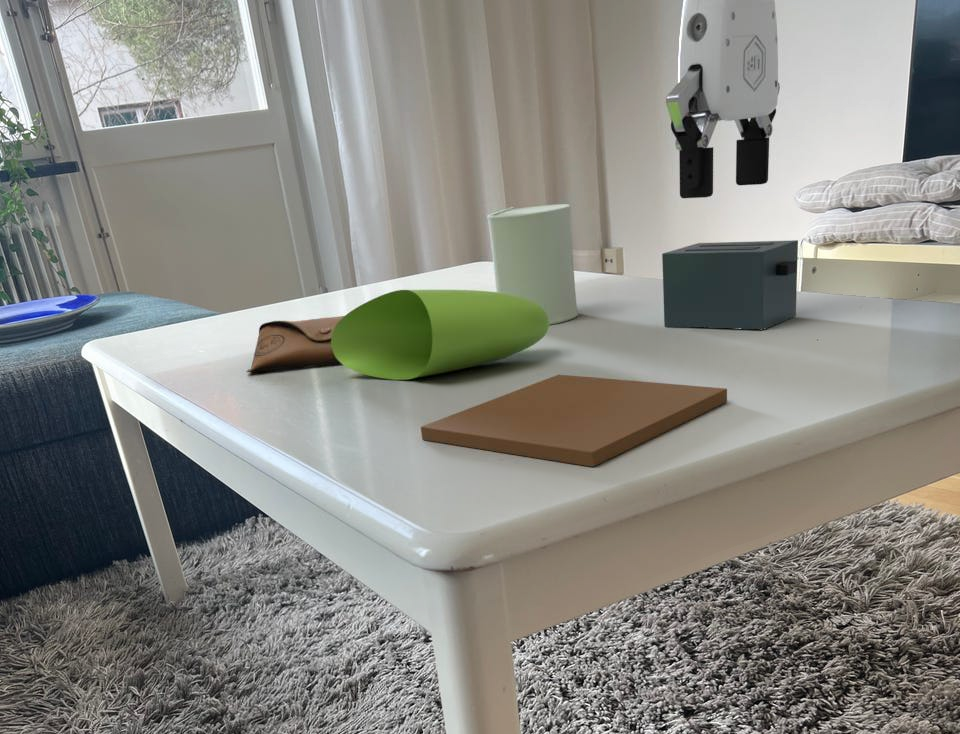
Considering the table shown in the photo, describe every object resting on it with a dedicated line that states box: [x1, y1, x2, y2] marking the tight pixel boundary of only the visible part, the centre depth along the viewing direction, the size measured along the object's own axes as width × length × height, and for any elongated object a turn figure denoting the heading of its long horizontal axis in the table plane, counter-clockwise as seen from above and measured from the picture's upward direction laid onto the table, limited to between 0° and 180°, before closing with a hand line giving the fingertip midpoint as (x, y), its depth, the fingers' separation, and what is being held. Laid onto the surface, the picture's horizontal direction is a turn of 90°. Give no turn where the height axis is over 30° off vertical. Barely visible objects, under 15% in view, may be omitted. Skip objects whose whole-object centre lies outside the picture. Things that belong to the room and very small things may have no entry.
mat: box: [420, 374, 728, 468], centre depth 72 cm, size 16×16×1 cm
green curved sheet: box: [331, 289, 550, 381], centre depth 91 cm, size 8×12×20 cm
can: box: [486, 203, 579, 326], centre depth 109 cm, size 9×9×12 cm
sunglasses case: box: [246, 315, 345, 373], centre depth 104 cm, size 18×7×7 cm
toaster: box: [661, 239, 799, 331], centre depth 95 cm, size 12×6×7 cm, turn 47°
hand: (724, 190), depth 92 cm, fingers open, 9 cm apart
